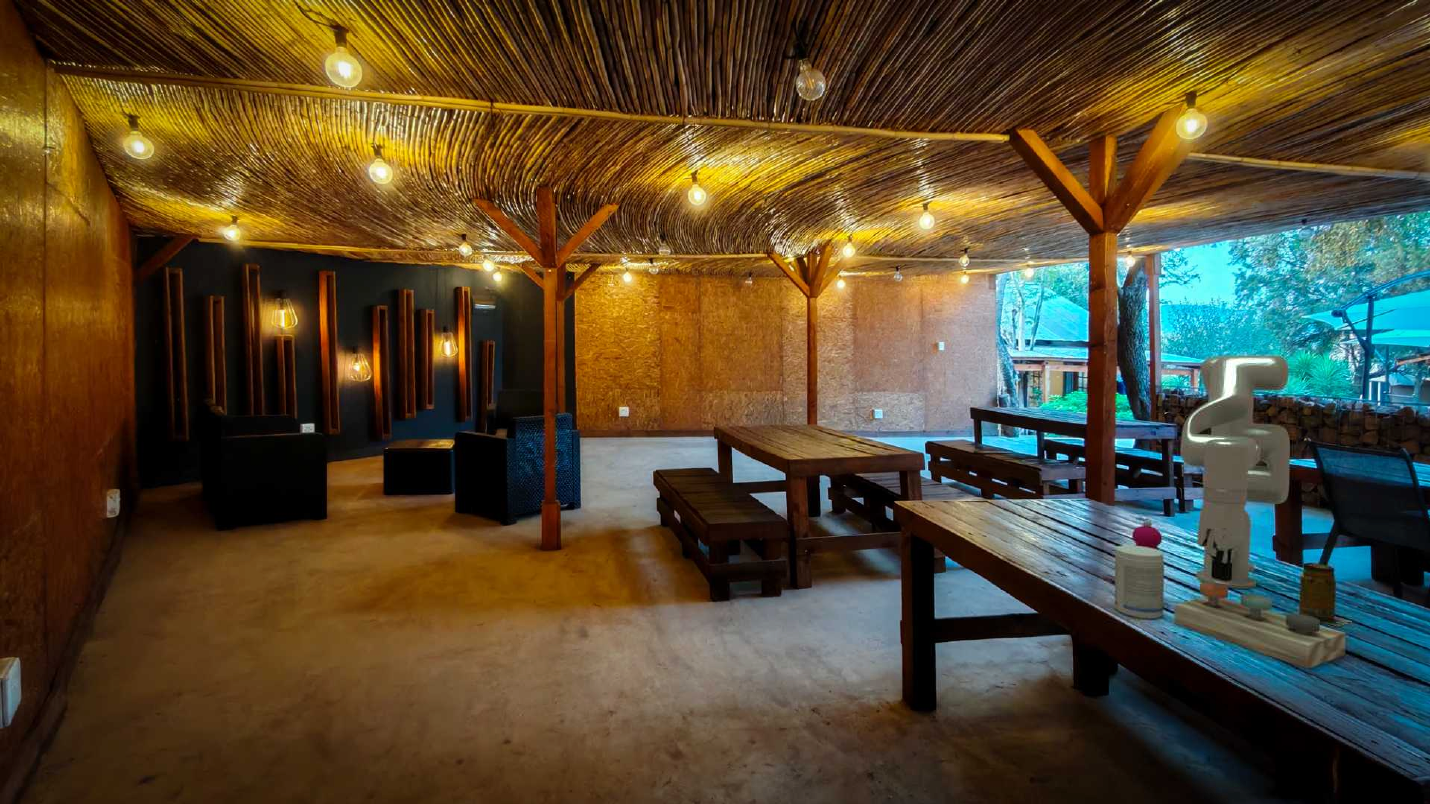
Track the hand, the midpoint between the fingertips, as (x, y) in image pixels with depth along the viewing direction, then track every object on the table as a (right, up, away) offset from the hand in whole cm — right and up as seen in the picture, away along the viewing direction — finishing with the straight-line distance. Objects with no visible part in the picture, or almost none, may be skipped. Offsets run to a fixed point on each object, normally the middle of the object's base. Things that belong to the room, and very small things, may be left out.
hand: (1221, 579), depth 144 cm
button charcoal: (+6, -9, -13) cm, 17 cm away
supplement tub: (-12, -11, +10) cm, 19 cm away
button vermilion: (-1, -7, +1) cm, 7 cm away
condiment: (+27, -11, +6) cm, 30 cm away
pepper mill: (-6, -10, +17) cm, 21 cm away
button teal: (+3, -7, -6) cm, 10 cm away
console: (+3, -11, -6) cm, 13 cm away
